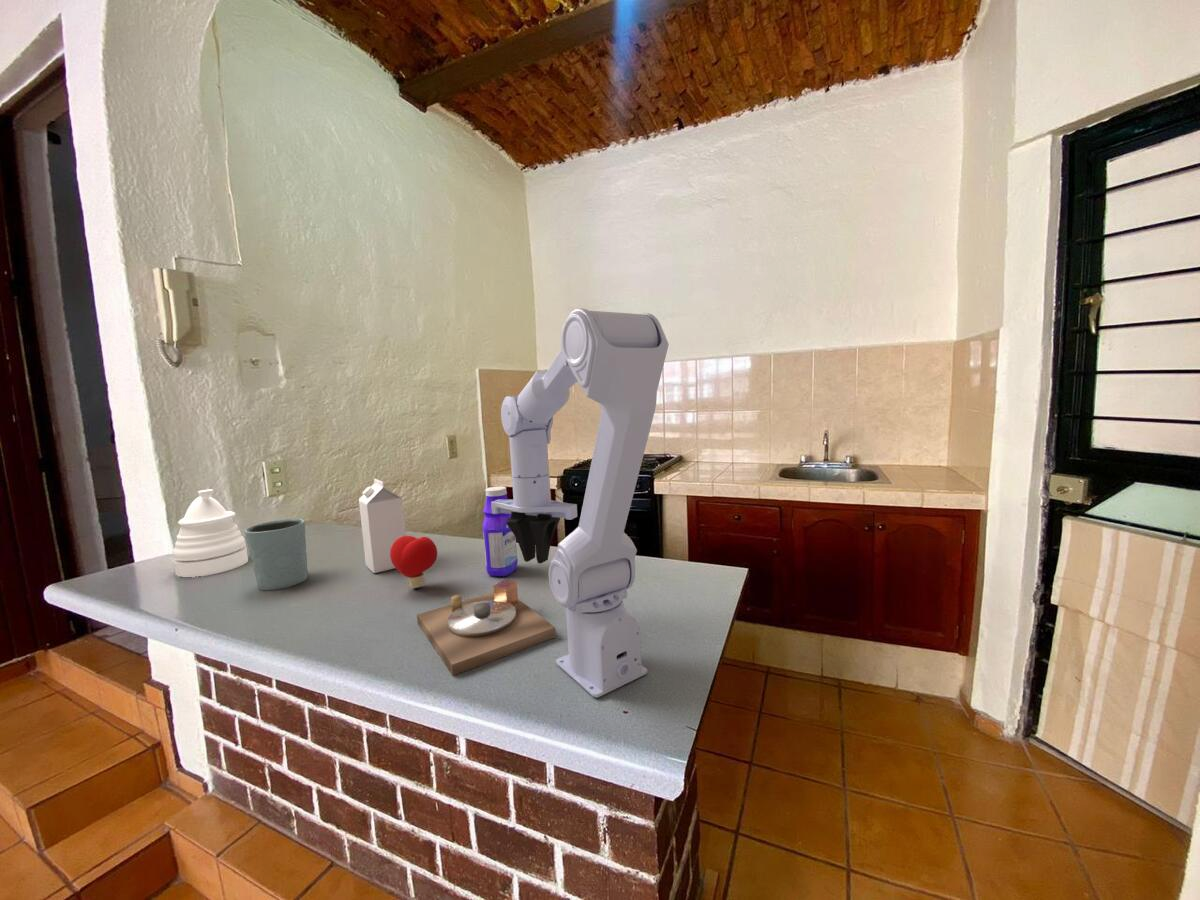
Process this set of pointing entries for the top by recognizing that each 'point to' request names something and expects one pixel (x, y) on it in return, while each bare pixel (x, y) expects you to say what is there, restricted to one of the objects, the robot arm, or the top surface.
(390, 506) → the milk carton
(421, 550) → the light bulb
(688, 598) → the top surface
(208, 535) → the honey pot
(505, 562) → the bottle
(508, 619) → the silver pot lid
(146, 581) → the top surface
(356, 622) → the top surface
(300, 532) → the teal cylindrical pot
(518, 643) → the mounting board
